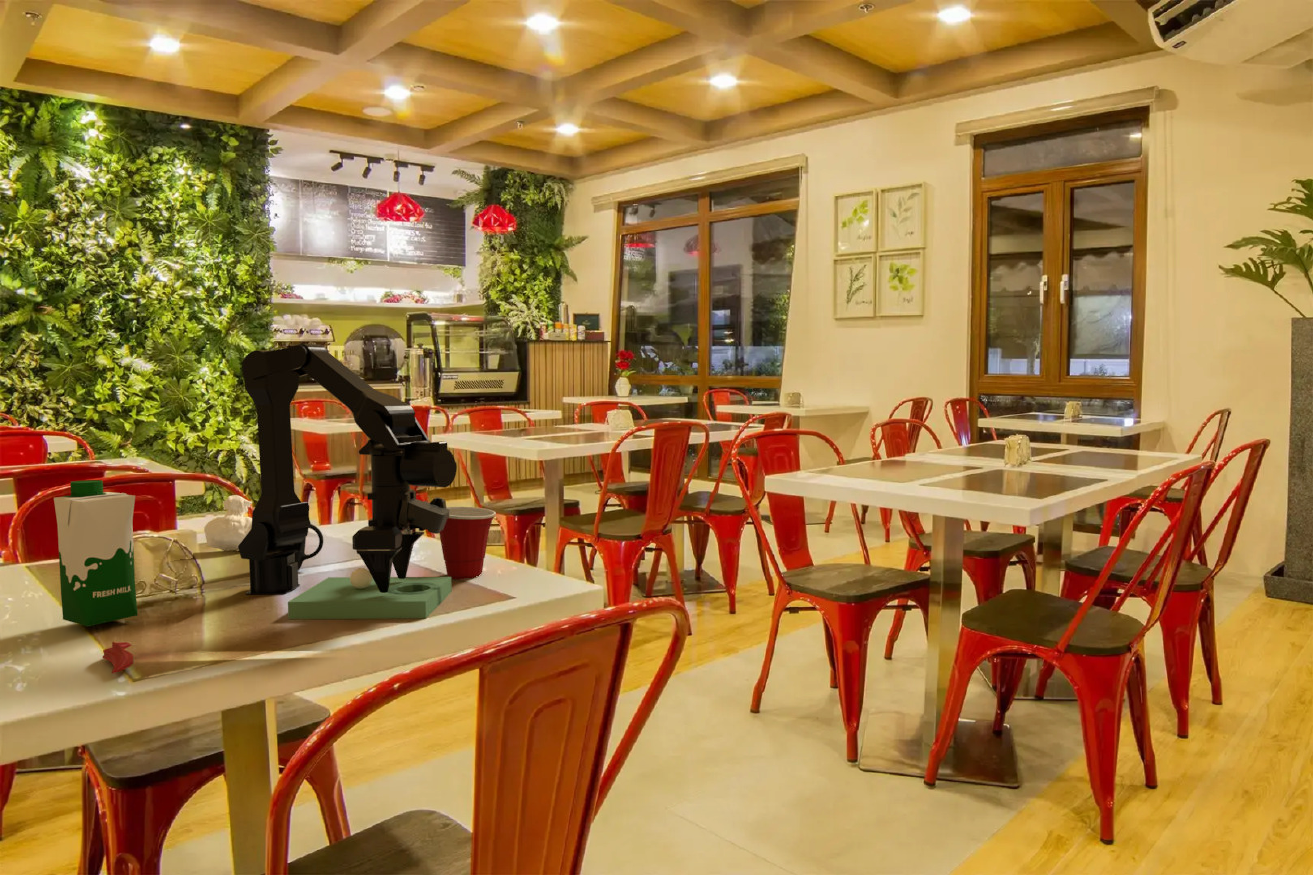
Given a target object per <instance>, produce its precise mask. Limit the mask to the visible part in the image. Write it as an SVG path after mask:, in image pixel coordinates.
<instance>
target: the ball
mask: <svg viewBox="0 0 1313 875" xmlns="http://www.w3.org/2000/svg"><path fill="white" fill-rule="evenodd" d="M349 577H350V582H351V584H352V585H353V586H354V587H355V588H357V589H364V588H366V587H368V586H369V585H370V583H371V581H372V576H371V574H370V572H369V570H368V568H365V567H358V568H356V569H354V570H353V571H352V572H351V574H350V576H349Z"/></svg>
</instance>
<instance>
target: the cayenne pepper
mask: <svg viewBox="0 0 1313 875" xmlns="http://www.w3.org/2000/svg"><path fill="white" fill-rule="evenodd" d="M111 644H112V645H111V647H108V648H105V649H103V650H102V652H103V655H102V659H103V660H106V661H108V662H110V663H111V664H112V665H113V669H112V671H111V674H115V673H118V672H121V671H124V670H126V669H129V668H130V667H131V666H132V665H133V664H134V660H133V659H134V656H133V654H132V652H130V651H129V650H127V648H130V647H131V646H132V644H131V643H129V642H128V641H127V642H126V641H125V642H123V641H121V642H116V641H112V642H111Z"/></svg>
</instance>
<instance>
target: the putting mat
mask: <svg viewBox="0 0 1313 875" xmlns="http://www.w3.org/2000/svg"><path fill="white" fill-rule="evenodd" d="M451 593H452V578H451V577H448V576H406V578H405V579H399V578H398V576H390V584H389V590H388V592H387V593H381V592H380V591H379V589H378V587H377V585H376V583H375V581H374V579H373V577H372V581H371V583H370V585H369V586H368V587H366V588H364V589H357V588H355V587H354V586H353V585H352V584H351V582H350V576H347V577H343V576H342V577H341V576H340V577H339V576H335V577H334V576H333V577H330V576H329V577H327V578H325V579H323V580H322V581H320V582H318V583H317V584H316V585H314V586H312V587H310V588H309V589H307V590H305V591H304V592H302V593H299V595H297V596H295V597H293V598H292V599H290V600H289V601H288V602H287V614H288V615H287V617H288V620H313V619H317V620H320V619H321V620H324V619H325V620H326V619H327V620H330V619H331V620H332V619H333V620H338V619H339V620H340V619H341V620H342V619H345V620H346V619H348V620H349V619H351V620H352V619H353V620H354V619H357V620H359V619H360V620H361V619H362V620H364V619H365V620H367V619H371V620H372V619H375V620H377V619H379V620H380V619H381V620H382V619H427V618H428V617H429V616H430V615H431V614H432V613H433V612H434V611H435V610H436V609H437V607H439V606H440V605H441V603H442V602H444V601H445V600H446V598H447V597H448V596H449V595H450V594H451Z"/></svg>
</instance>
